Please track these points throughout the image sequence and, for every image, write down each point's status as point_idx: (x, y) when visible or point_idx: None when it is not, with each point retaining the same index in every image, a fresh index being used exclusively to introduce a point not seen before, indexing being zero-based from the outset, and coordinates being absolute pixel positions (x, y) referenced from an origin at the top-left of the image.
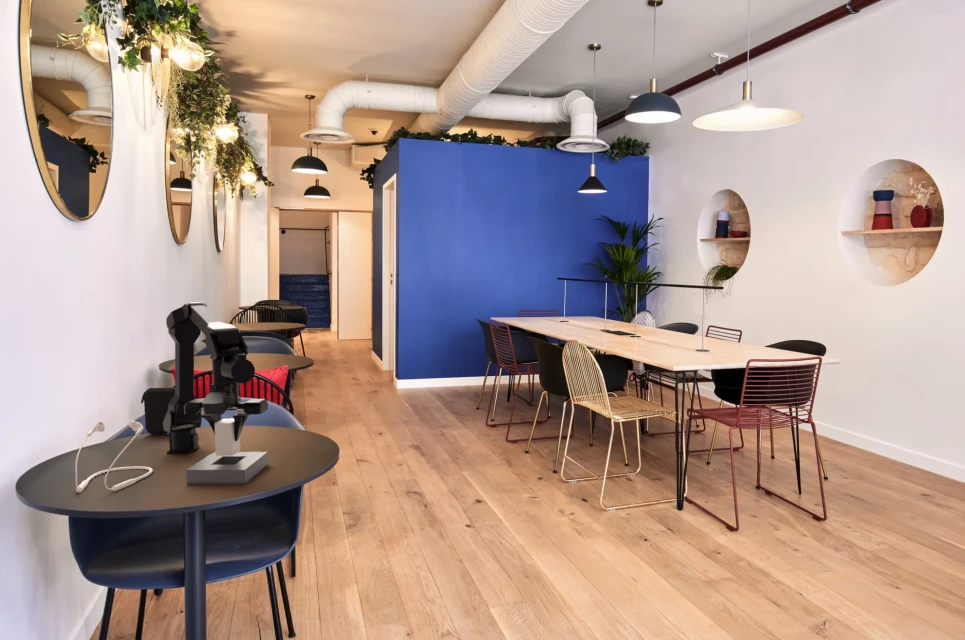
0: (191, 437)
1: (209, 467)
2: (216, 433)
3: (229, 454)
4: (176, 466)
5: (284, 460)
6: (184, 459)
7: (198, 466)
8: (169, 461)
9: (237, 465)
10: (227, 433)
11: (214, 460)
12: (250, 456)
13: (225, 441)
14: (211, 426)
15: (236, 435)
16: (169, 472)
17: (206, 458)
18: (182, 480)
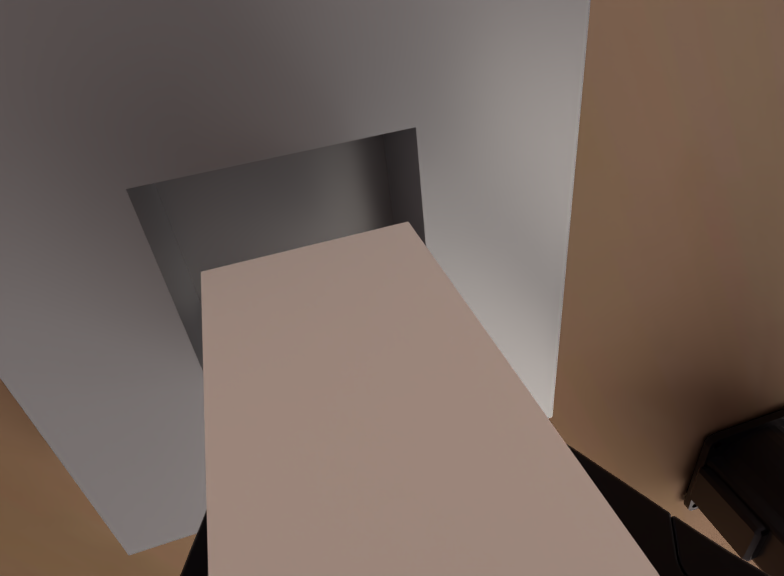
0: (757, 519)
1: (367, 20)
2: (525, 436)
3: (234, 269)
4: (718, 271)
5: (99, 552)
6: (704, 371)
7: (514, 39)
8: (770, 326)
9: (62, 167)
10: (292, 511)
11: (448, 256)
12: (182, 435)
13: (314, 374)
14: (721, 556)
15: (204, 560)
16: (733, 163)
17: (544, 284)
18: (594, 3)
